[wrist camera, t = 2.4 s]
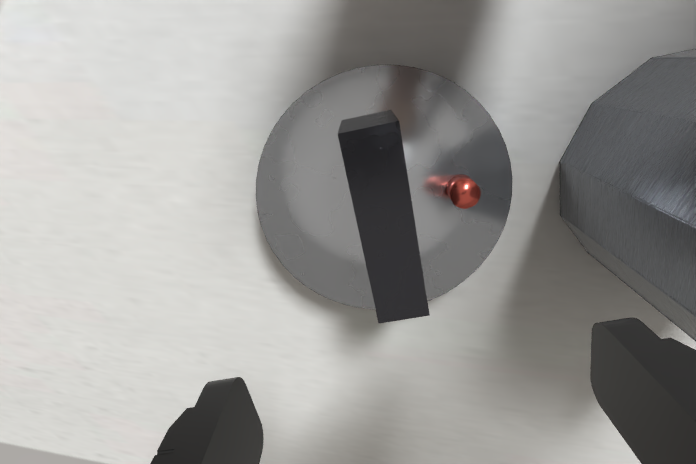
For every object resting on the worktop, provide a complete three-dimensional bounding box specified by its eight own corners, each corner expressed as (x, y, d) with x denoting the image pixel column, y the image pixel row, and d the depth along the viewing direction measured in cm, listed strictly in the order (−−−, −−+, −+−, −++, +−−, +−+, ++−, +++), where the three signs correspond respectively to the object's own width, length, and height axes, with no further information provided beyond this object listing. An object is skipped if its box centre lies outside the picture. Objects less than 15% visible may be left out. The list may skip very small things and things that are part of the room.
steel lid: (235, 95, 21) (186, 108, 15) (487, 37, 19) (544, 26, 14) (298, 302, 26) (281, 373, 20) (502, 267, 25) (549, 333, 19)
